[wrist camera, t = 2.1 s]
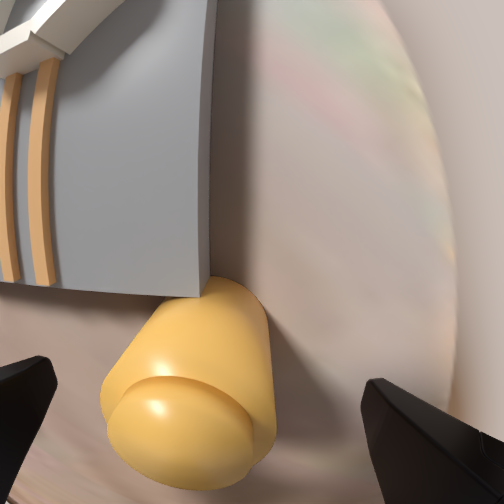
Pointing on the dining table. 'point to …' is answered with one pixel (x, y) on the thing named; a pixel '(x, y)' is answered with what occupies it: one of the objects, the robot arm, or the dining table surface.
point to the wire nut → (195, 390)
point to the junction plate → (106, 144)
